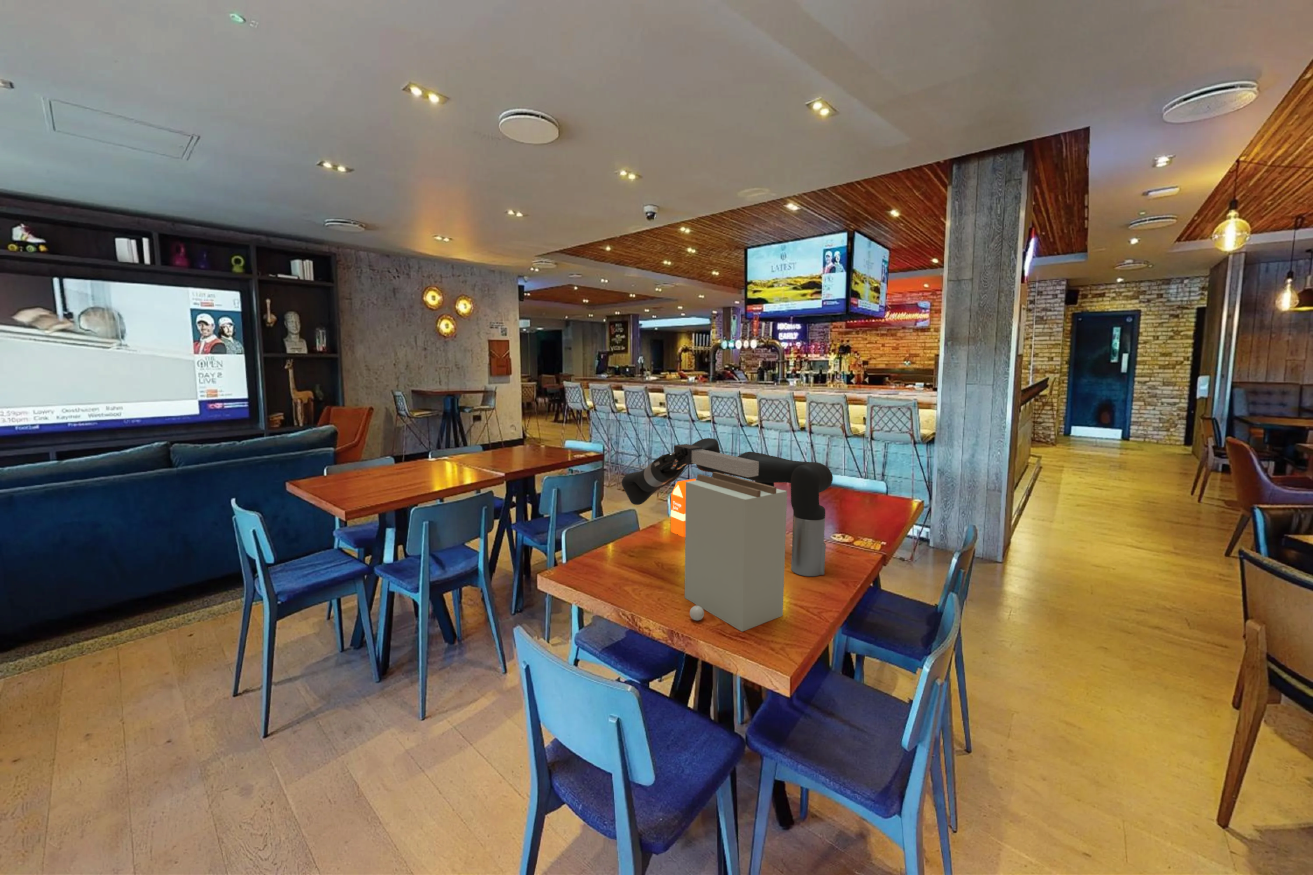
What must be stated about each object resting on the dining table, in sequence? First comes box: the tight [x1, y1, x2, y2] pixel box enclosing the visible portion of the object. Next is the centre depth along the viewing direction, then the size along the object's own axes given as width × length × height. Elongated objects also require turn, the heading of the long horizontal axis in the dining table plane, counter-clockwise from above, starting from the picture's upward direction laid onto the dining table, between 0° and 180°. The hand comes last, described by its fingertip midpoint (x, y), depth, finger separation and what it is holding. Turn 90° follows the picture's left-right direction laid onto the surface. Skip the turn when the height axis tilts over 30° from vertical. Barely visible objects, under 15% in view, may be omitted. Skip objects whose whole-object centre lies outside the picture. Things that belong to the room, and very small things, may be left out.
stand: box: [684, 472, 788, 633], centre depth 135 cm, size 23×14×34 cm, turn 35°
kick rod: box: [673, 443, 759, 477], centre depth 138 cm, size 29×4×4 cm, turn 35°
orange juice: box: [670, 478, 697, 538], centre depth 196 cm, size 8×9×20 cm
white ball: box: [689, 605, 705, 621], centre depth 129 cm, size 4×4×4 cm
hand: (691, 450), depth 145 cm, fingers closed on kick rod, 4 cm apart
